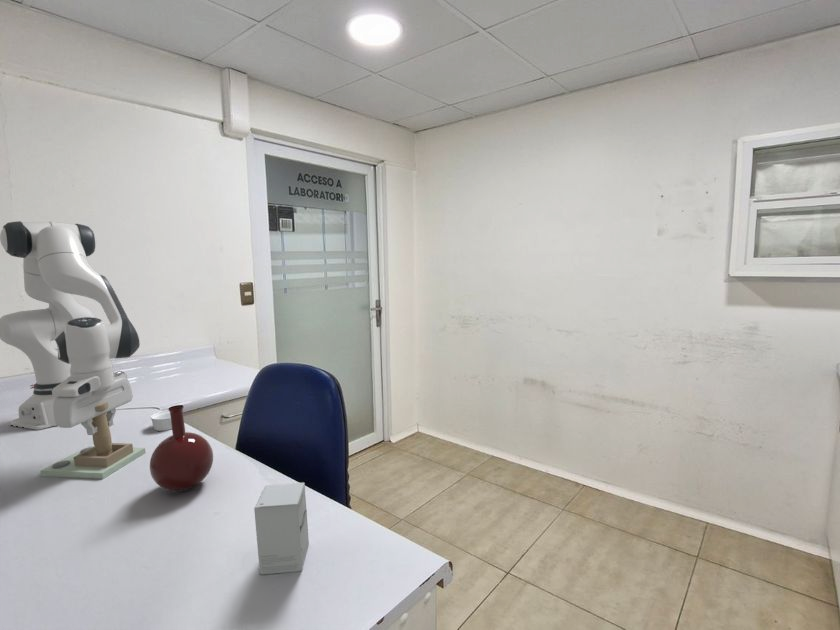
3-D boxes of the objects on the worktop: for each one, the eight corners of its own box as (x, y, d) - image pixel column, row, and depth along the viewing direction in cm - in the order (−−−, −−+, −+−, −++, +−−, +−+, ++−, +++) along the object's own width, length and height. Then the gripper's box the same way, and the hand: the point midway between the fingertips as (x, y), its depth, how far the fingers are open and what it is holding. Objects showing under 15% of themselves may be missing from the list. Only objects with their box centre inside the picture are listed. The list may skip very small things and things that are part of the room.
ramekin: (182, 419, 146) (180, 406, 145) (184, 427, 139) (183, 414, 138) (151, 425, 141) (149, 413, 140) (152, 434, 134) (151, 421, 133)
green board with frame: (40, 476, 109) (38, 461, 109) (89, 450, 123) (87, 437, 123) (103, 478, 107) (101, 463, 107) (145, 452, 121) (143, 439, 120)
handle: (94, 464, 111) (84, 409, 108) (93, 456, 116) (84, 403, 113) (117, 458, 113) (108, 404, 111) (115, 450, 118) (106, 398, 116)
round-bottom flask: (150, 509, 93) (139, 422, 90) (155, 481, 105) (145, 404, 102) (217, 492, 99) (208, 410, 96) (214, 468, 111) (206, 394, 108)
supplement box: (302, 572, 73) (297, 504, 72) (258, 575, 73) (252, 507, 71) (310, 543, 81) (305, 481, 79) (270, 546, 80) (264, 484, 78)
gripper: (115, 368, 122) (121, 414, 124) (44, 392, 102) (53, 446, 104) (135, 369, 121) (141, 415, 123) (67, 392, 101) (76, 447, 103)
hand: (100, 430), depth 113 cm, fingers closed on handle, 3 cm apart
